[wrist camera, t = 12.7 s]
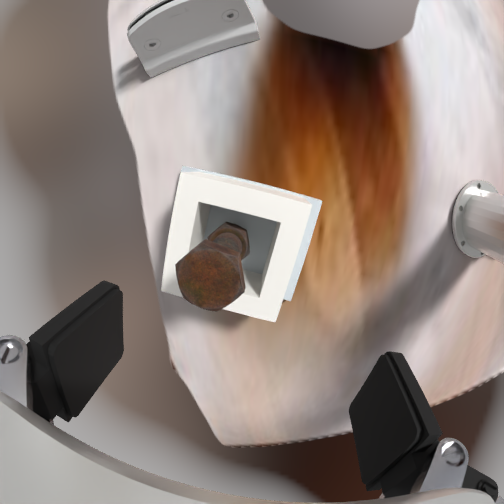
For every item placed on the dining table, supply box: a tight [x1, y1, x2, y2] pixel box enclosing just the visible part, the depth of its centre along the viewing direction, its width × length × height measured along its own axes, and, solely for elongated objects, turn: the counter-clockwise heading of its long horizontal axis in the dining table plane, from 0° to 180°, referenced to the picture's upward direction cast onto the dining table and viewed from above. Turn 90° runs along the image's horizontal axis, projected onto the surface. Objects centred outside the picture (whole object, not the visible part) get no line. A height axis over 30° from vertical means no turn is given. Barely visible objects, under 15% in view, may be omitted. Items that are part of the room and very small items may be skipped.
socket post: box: [161, 166, 322, 322], centre depth 32 cm, size 18×14×8 cm
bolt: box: [175, 222, 250, 311], centre depth 28 cm, size 6×5×15 cm
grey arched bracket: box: [127, 0, 260, 78], centre depth 25 cm, size 17×5×10 cm, turn 106°
